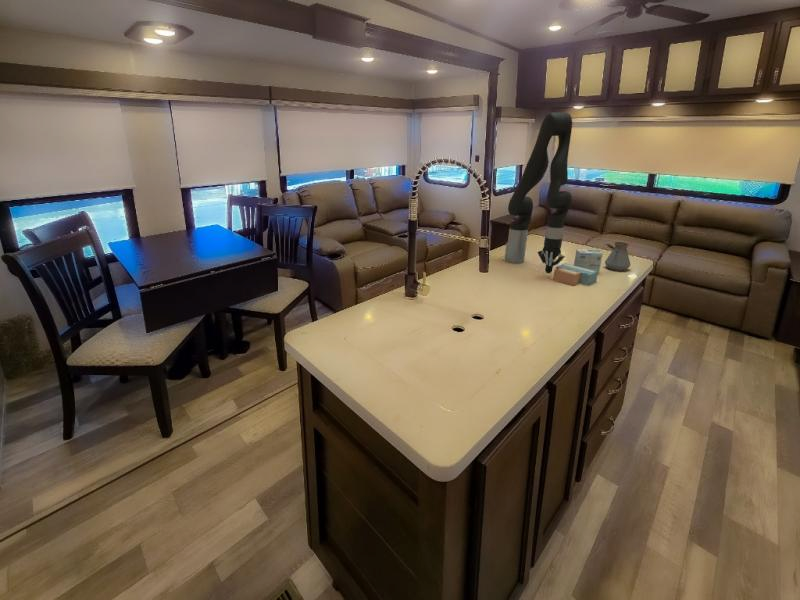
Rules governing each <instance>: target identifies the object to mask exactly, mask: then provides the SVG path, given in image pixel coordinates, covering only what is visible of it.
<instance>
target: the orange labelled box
mask: <svg viewBox="0 0 800 600" xmlns="http://www.w3.org/2000/svg"><path fill="white" fill-rule="evenodd" d="M553 269H554V268H553ZM580 274H581V273H580V272H576V271H572V270H568V269H564V268H557V269H556V268H555V269H554V270H553V276H552V280H553V281H556V282H558V283H563V284H566V285H569V286H572V287H573V286H575V285H578V284H580V283H579V280H580Z"/></svg>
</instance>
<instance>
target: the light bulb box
mask: <svg viewBox="0 0 800 600" xmlns="http://www.w3.org/2000/svg"><path fill="white" fill-rule="evenodd" d="M602 259H603V251H600V250H599V249H583V248H582V249H579V248H577V249H576V250H575V257H574V261H573V265H574V266H578V267H582V268H587V269H591V270H595V271H598V275H600V270H601V265H602Z"/></svg>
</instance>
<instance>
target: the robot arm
mask: <svg viewBox="0 0 800 600" xmlns="http://www.w3.org/2000/svg"><path fill="white" fill-rule="evenodd" d="M572 128H573V117H572V115H571V114H570V113H568V112H559V111H557V112H554V111H553V112H549V113H547V114H546V115H545V116H544V118H543V119H542V122H541V124H540V129H539V131H538V134H537V139H536V141H535V144H534V147H533V149H532V151H531V154H530V157H529V158H528V161H527V164H526V166H525V168H524V170H523V173H522V175H521V178H520V180H519V182H518V184H517V186H516V188H515V190H514V192H513V194H512V196H511V197H510V199H509V201H508V205H507V206H508V207H507V210H508V214H509V215H511V216H513V217H514V216H515V217H516V216H517V218H516V219H514V220H513V221H511V222H510V224H509V230H508V238H507V242H506V243H505V250H504V253H505V254H504V259H503V260H504V261H506V262H508V263H511V264H523V263H524V262H525V257H526V250H527V249H526V247H527V241H528V232H529V227H530V225H531V222H532V221H531V220H532V215H533V208H534V203H533V199H532V198H531V197H530V196H527V194H528V193H529V192H530V191H531V190H533V188H534V187H536V186H537V185H538V184H539V183H540V182H541V181H542V180H543V178H544V176H545V174H546V172H547V170H548V169H549V170H550V171H549V179H550V183H549V187H548V191H547V195H546V204H547V205H548V207H549V208H551V209H556V210H555V211H553V212H551V213H549V214H548V218H547V223H546V229H545V233H544V234H545V235H544V240H543V241H544V242H543V248H542V250H539V251H537V254H538V257H539V258H540V261H541V262H542V263H543V264H545V269H544V271H545V273H546V274H551V273H552V272H553V269H554V266H558V264H559V263H561V262H562V261H563V260H564V259H565V258H566V256H565V255H563V254H562V250H561V248H562V242H563V239H564V238H563V237H564V227H565V220H566V217H567V215H568V212H569V211H570V208H571V206H572V202H573V197H572V194H571V192H569V191H567V190H562V191H561V190H560V189H561V186H565V185H567V184H568V181H569V180H568V179H569V177H568V176H569V175H568V173H569V171H568V162H569V161H568V159H569V150H570V144H571V137H572ZM552 137H558V138H557V139H558V144H557V145H558V146H557V149H556V151H555V154H554V155H553V158H552V160H551V162H550V168H548V167H549V154H548V147H549V144H550V141H551V139H552ZM556 258H557V259H556Z"/></svg>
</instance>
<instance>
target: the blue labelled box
mask: <svg viewBox="0 0 800 600" xmlns="http://www.w3.org/2000/svg"><path fill="white" fill-rule="evenodd" d="M557 268H564V269H568V270H572V271H576V272H580V273H581V274H580V280H579V283H578V284H581V285H584V286H590V285H593V284H594V283H596V282H597V279H598V275H599V274H598V271H595V270H591V269H587V268H582V267H578V266H574V264H569V263H565V262H564V263H562V264H559V265H556V267H555V269H557Z"/></svg>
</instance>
